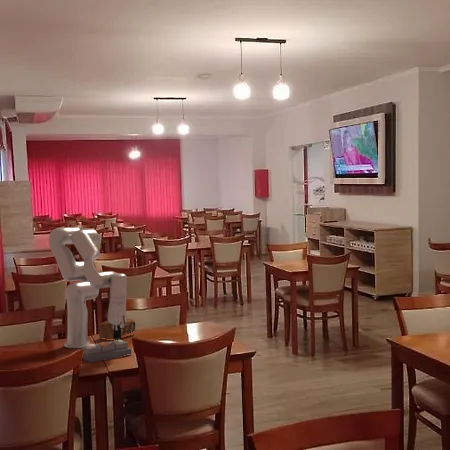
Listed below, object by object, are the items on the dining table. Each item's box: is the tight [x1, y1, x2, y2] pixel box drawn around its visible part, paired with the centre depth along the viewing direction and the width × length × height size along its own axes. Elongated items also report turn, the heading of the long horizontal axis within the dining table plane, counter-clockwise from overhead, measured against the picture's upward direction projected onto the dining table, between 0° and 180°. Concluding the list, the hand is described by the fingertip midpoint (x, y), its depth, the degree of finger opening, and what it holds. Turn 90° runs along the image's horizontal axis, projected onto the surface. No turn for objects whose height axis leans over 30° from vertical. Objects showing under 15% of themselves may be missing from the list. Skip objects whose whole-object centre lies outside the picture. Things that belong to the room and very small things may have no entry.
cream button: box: [87, 343, 97, 348], centre depth 275 cm, size 4×4×3 cm
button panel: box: [80, 340, 132, 363], centre depth 280 cm, size 12×21×6 cm, turn 130°
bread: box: [98, 317, 136, 339], centre depth 319 cm, size 19×11×10 cm, turn 149°
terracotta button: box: [100, 341, 110, 346], centre depth 280 cm, size 4×4×3 cm
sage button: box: [114, 339, 124, 344], centre depth 284 cm, size 4×4×3 cm
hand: (117, 338), depth 284 cm, fingers closed
